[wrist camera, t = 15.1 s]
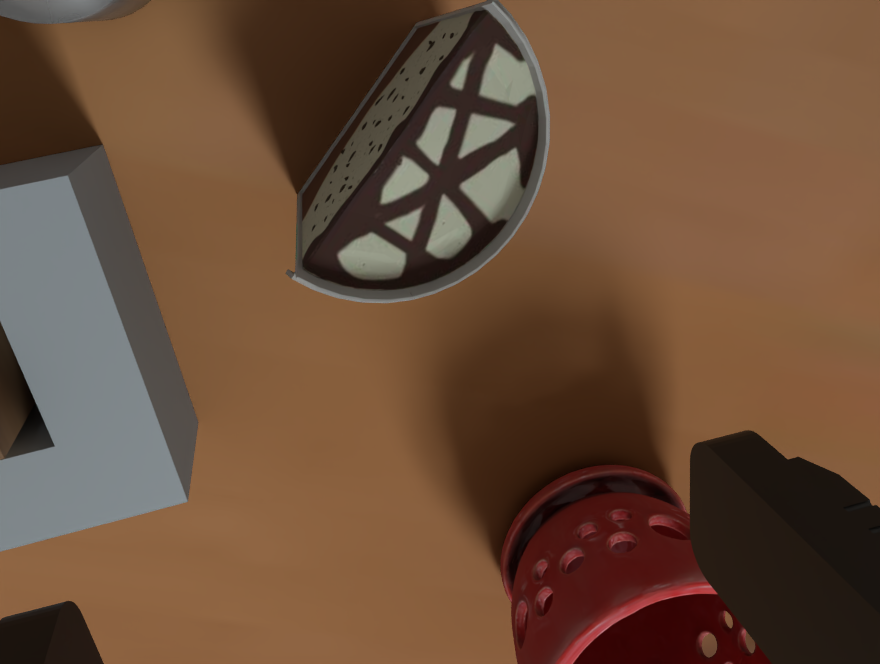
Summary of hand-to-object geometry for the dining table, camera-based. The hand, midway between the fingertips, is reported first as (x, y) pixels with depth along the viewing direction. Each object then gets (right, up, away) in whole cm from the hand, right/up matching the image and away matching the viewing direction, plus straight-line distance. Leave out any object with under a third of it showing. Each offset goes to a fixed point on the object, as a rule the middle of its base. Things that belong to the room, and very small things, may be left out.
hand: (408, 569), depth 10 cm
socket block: (-20, +3, +25) cm, 32 cm away
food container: (-1, +12, +27) cm, 29 cm away
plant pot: (+9, -9, +38) cm, 40 cm away
